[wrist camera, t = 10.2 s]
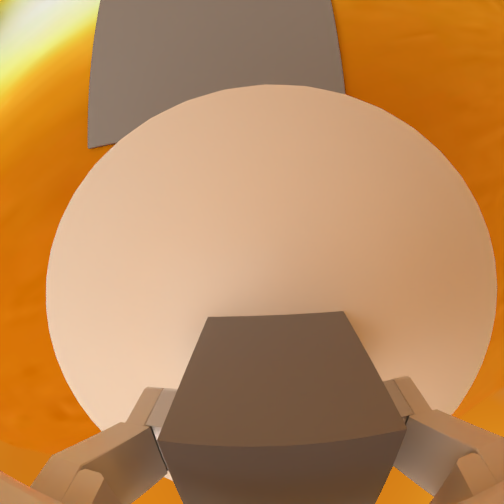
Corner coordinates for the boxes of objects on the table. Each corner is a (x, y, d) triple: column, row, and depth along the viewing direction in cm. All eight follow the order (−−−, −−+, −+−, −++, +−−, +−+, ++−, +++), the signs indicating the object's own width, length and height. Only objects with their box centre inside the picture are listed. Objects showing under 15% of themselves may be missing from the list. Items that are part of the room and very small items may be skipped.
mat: (315, -58, 16) (315, -60, 16) (346, 125, 20) (348, 124, 20) (109, -31, 17) (107, -32, 17) (90, 148, 21) (87, 148, 21)
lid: (488, 116, 8) (607, 95, 2) (429, 460, 12) (464, 537, 6) (38, 136, 9) (-88, 126, 3) (122, 471, 12) (87, 550, 7)
